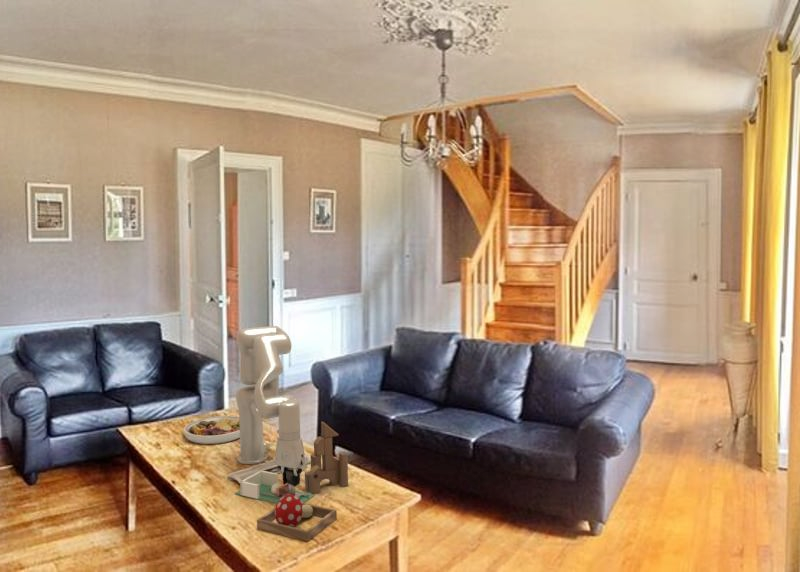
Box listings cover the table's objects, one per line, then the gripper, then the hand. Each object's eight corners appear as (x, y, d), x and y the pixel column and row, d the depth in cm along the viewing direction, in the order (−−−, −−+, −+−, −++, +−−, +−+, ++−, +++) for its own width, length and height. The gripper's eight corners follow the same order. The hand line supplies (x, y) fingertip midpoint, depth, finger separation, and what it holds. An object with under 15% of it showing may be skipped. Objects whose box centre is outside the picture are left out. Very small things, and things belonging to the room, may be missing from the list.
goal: (261, 482, 242) (260, 470, 242) (278, 486, 239) (277, 473, 238) (240, 494, 232) (239, 481, 231) (257, 498, 228) (257, 485, 228)
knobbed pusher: (286, 491, 233) (285, 465, 232) (304, 495, 230) (303, 468, 229) (276, 497, 228) (275, 470, 227) (295, 501, 225) (294, 474, 224)
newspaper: (240, 488, 240) (240, 479, 239) (224, 479, 249) (224, 470, 248) (315, 463, 264) (315, 455, 264) (298, 455, 273) (298, 447, 273)
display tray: (288, 507, 221) (288, 499, 221) (336, 518, 213) (336, 510, 212) (257, 528, 206) (256, 520, 206) (307, 541, 197) (307, 532, 197)
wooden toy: (311, 495, 232) (309, 429, 229) (304, 488, 237) (302, 424, 235) (349, 485, 239) (348, 421, 237) (342, 479, 245) (340, 417, 243)
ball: (275, 491, 234) (275, 480, 234) (284, 493, 233) (284, 482, 232) (269, 495, 231) (268, 485, 230) (277, 497, 229) (277, 486, 229)
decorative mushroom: (312, 487, 218) (282, 486, 206) (328, 512, 211) (297, 513, 200) (294, 509, 220) (262, 510, 208) (309, 535, 213) (277, 537, 202)
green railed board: (254, 482, 243) (254, 481, 243) (314, 495, 231) (314, 494, 231) (235, 494, 233) (234, 492, 233) (297, 508, 221) (297, 507, 221)
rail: (270, 488, 237) (270, 486, 236) (310, 497, 229) (310, 495, 228) (260, 495, 231) (260, 493, 231) (301, 504, 223) (301, 501, 223)
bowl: (185, 429, 310) (184, 413, 309) (247, 422, 319) (246, 407, 318) (183, 450, 281) (182, 432, 281) (252, 442, 290) (251, 425, 290)
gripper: (264, 434, 227) (266, 484, 228) (303, 441, 219) (304, 491, 221) (277, 428, 233) (279, 476, 235) (315, 434, 226) (316, 483, 228)
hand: (291, 483), depth 228 cm, fingers closed on knobbed pusher, 3 cm apart
